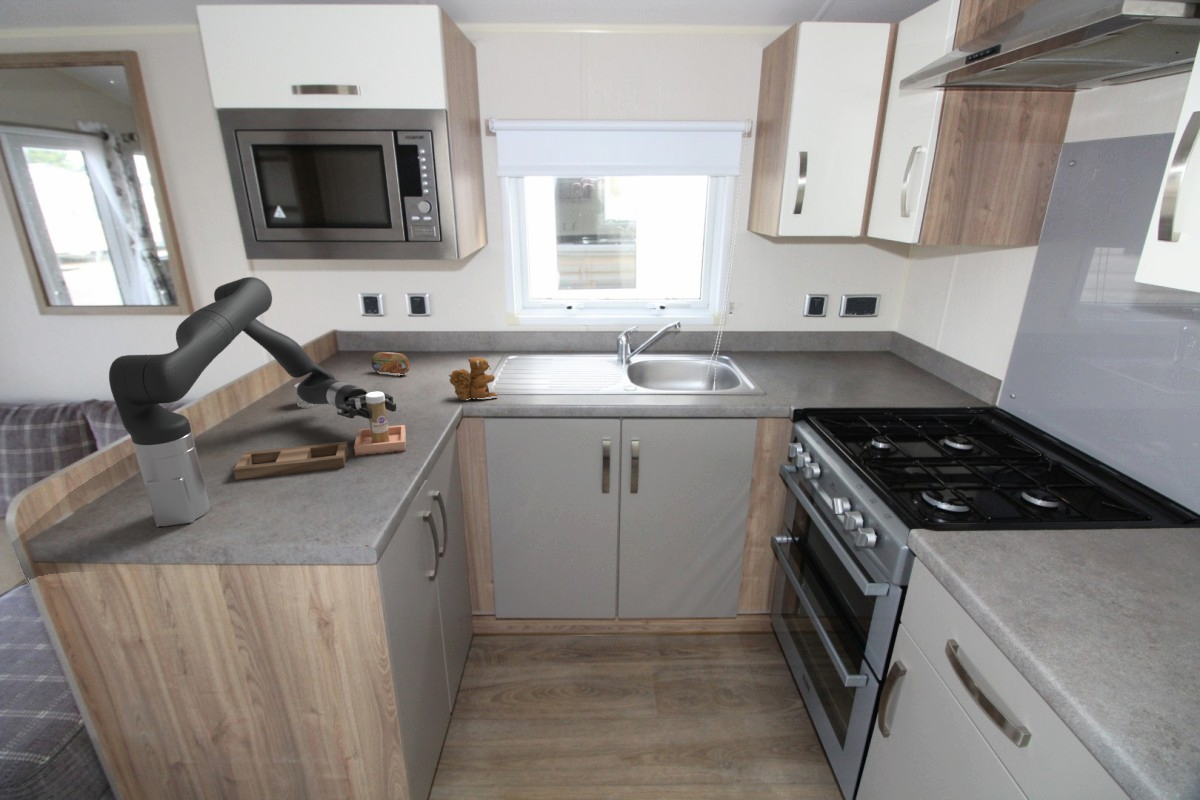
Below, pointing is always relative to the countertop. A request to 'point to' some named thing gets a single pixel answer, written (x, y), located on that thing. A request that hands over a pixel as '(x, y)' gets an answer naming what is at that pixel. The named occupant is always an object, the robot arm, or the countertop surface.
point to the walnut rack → (291, 460)
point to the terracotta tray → (395, 444)
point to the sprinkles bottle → (378, 417)
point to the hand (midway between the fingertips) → (382, 411)
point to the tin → (390, 362)
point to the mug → (301, 402)
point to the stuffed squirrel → (472, 380)
